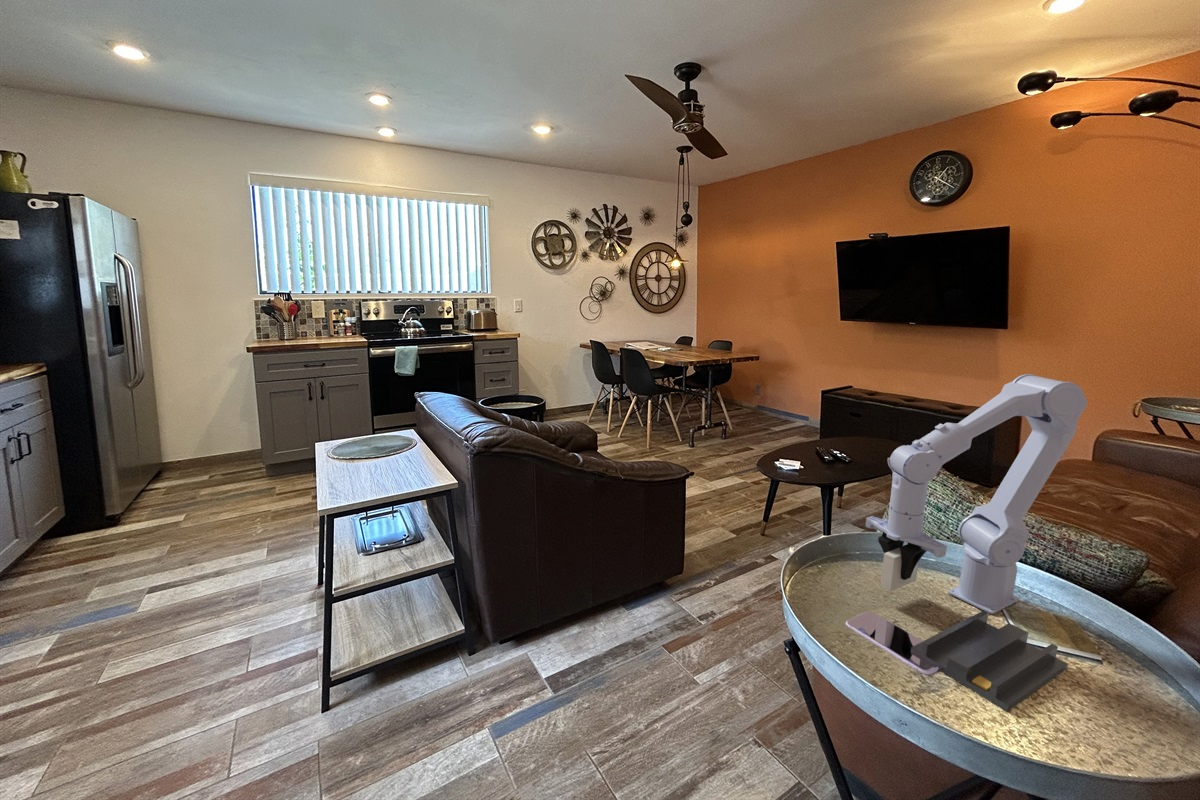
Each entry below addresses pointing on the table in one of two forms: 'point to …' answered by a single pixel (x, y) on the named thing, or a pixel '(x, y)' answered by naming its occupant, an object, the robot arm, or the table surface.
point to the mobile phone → (891, 640)
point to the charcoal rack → (992, 660)
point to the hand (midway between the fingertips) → (899, 574)
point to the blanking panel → (894, 571)
